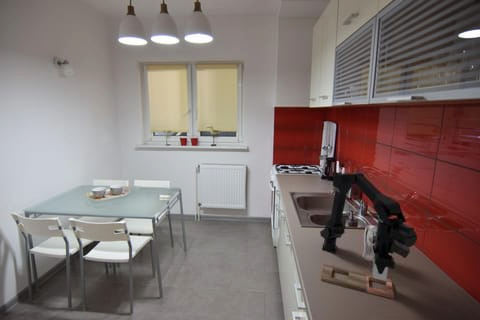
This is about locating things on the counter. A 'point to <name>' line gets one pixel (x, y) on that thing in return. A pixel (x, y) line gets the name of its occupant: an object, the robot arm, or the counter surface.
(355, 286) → the brown flat frame piece
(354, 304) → the counter surface
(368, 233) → the beer glass
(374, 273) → the square peg
